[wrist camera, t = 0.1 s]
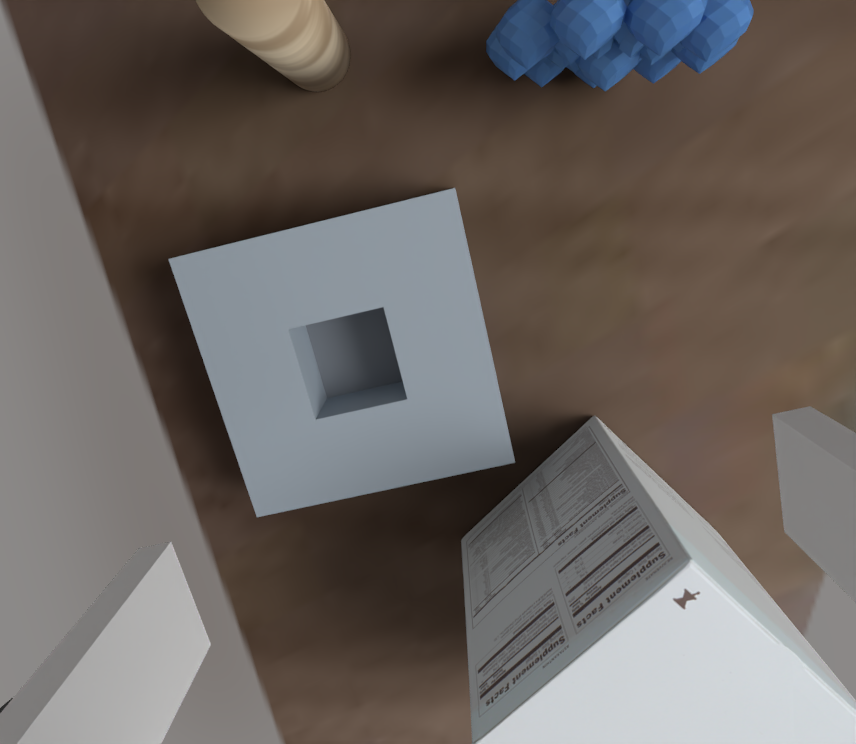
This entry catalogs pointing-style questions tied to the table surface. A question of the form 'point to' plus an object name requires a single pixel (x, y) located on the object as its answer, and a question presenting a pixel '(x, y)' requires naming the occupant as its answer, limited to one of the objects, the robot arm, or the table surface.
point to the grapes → (614, 37)
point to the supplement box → (629, 619)
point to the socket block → (348, 353)
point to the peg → (287, 37)
